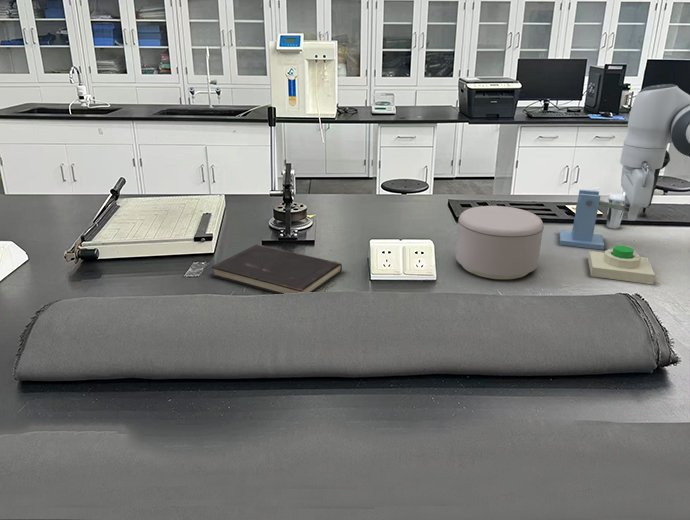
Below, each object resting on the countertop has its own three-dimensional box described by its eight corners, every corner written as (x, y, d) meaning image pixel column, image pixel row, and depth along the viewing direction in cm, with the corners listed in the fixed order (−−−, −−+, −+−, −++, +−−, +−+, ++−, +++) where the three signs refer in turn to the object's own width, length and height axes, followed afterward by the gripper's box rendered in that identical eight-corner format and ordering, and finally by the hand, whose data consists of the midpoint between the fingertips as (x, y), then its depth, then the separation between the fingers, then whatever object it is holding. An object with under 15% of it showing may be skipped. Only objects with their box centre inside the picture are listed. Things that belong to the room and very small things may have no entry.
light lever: (631, 212, 130) (635, 203, 129) (634, 219, 125) (638, 210, 124) (580, 199, 133) (583, 190, 132) (581, 206, 128) (584, 197, 127)
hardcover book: (301, 300, 104) (300, 290, 103) (212, 276, 114) (211, 266, 113) (342, 271, 116) (342, 262, 116) (258, 252, 127) (258, 243, 126)
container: (535, 287, 109) (543, 234, 105) (448, 275, 115) (452, 223, 110) (538, 256, 125) (545, 208, 120) (461, 246, 131) (465, 200, 126)
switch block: (645, 266, 120) (649, 250, 118) (653, 284, 111) (657, 266, 109) (587, 259, 123) (591, 243, 122) (590, 276, 115) (594, 259, 113)
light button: (631, 254, 117) (632, 246, 116) (633, 260, 113) (635, 253, 113) (611, 251, 118) (612, 244, 117) (613, 258, 114) (614, 250, 114)
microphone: (624, 213, 156) (639, 144, 149) (646, 212, 157) (662, 144, 149) (639, 220, 150) (655, 149, 142) (661, 219, 151) (678, 148, 143)
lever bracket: (601, 239, 136) (610, 190, 131) (603, 249, 129) (614, 199, 124) (559, 234, 139) (567, 186, 134) (559, 244, 132) (568, 195, 127)
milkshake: (626, 226, 145) (634, 191, 141) (615, 230, 142) (623, 194, 138) (611, 222, 148) (618, 187, 144) (599, 226, 145) (606, 190, 142)
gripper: (666, 168, 113) (650, 230, 118) (650, 150, 130) (637, 205, 136) (633, 166, 114) (619, 226, 120) (622, 149, 132) (610, 202, 138)
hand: (629, 215), depth 128 cm, fingers closed on light lever, 6 cm apart
